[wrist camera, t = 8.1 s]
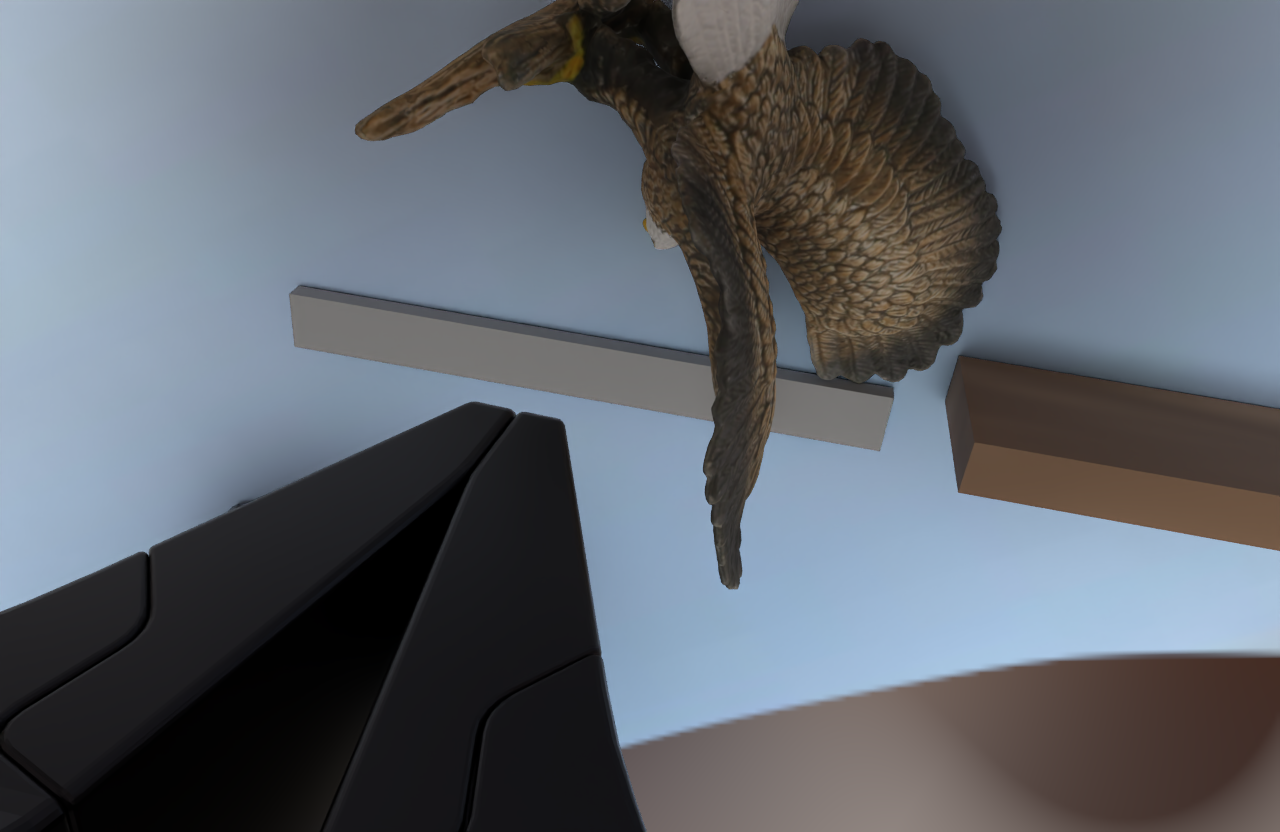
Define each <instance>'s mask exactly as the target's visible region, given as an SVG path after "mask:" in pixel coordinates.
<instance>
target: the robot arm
mask: <svg viewBox="0 0 1280 832" xmlns="http://www.w3.org/2000/svg"><path fill="white" fill-rule="evenodd" d="M0 832H647V831H646V828H645V826H644V822H643V820H642V817H641V814H640V811H639V808H638V805H637V803H636V799H635V795H634V792H633V789H632V785H631V782H630V779H629V775H628V772H627V769H626V765H625V762H624V759H623V755H622V752H621V749H620V745H619V741H618V736H617V731H616V726H615V722H614V717H613V712H612V707H611V703H610V698H609V693H608V687H607V681H606V675H605V669H604V663H603V659H602V658H601V647H600V641H599V635H598V629H597V623H596V616H595V610H594V604H593V598H592V591H591V585H590V579H589V573H588V567H587V560H586V554H585V548H584V542H583V536H582V529H581V523H580V517H579V511H578V504H577V498H576V492H575V486H574V480H573V473H572V467H571V461H570V455H569V449H568V442H567V436H566V430H565V425H564V423H563V422H562V421H561V420H560V419H557V418H553V417H548V416H543V415H538V414H533V413H528V412H521V413H519V414H517V415H516V414H515V412H514V411H513V410H511V409H508V408H504V407H499V406H494V405H490V404H485V403H480V402H469V403H466V404H464V405H462V406H460V407H457V408H455V409H453V410H451V411H449V412H446V413H444V414H442V415H440V416H438V417H435V418H433V419H431V420H429V421H427V422H424V423H422V424H420V425H418V426H416V427H413V428H411V429H409V430H407V431H405V432H402V433H400V434H398V435H396V436H394V437H392V438H389V439H387V440H385V441H383V442H381V443H378V444H376V445H374V446H372V447H370V448H367V449H365V450H363V451H361V452H359V453H356V454H354V455H352V456H350V457H348V458H345V459H343V460H341V461H339V462H337V463H334V464H332V465H330V466H328V467H326V468H323V469H321V470H319V471H317V472H315V473H312V474H310V475H308V476H306V477H304V478H301V479H299V480H297V481H295V482H293V483H290V484H288V485H286V486H284V487H282V488H279V489H277V490H275V491H273V492H271V493H268V494H266V495H264V496H262V497H260V498H257V499H255V500H253V501H251V502H249V503H246V504H244V505H241V504H238V505H236V506H233V507H232V508H231V509H230V510H229V511H228V512H227V513H225V514H222V515H220V516H218V517H216V518H214V519H211V520H209V521H207V522H205V523H203V524H200V525H198V526H196V527H194V528H191V529H189V530H187V531H185V532H183V533H180V534H178V535H176V536H174V537H172V538H169V539H167V540H165V541H163V542H161V543H158V544H156V545H154V546H152V547H151V548H150V549H149V557H148V554H147V553H145V552H138V553H136V554H134V555H131V556H129V557H127V558H125V559H123V560H120V561H118V562H116V563H114V564H112V565H109V566H107V567H105V568H103V569H101V570H98V571H96V572H94V573H92V574H89V575H87V576H85V577H82V578H80V579H78V580H75V581H73V582H71V583H68V584H66V585H64V586H61V587H59V588H57V589H55V590H52V591H50V592H48V593H45V594H43V595H41V596H38V597H36V598H34V599H31V600H29V601H27V602H24V603H22V604H19V605H17V606H14V607H11V608H9V609H6V610H4V611H1V612H0Z"/></svg>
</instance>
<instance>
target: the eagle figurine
mask: <svg viewBox="0 0 1280 832" xmlns="http://www.w3.org/2000/svg"><path fill="white" fill-rule="evenodd" d="M798 3H799V0H673V3H672V9H670V8H668V7H667V6H666V5H665V4H664V3H663V2H662V1H661V0H656V1H654V0H556V1H555V2H553V3H551V4H550V5H548V6H546V7H545V8H543V9H541V10H539V11H538V12H536V13H534V14H532V15H530V16H528V17H526V18H523V19H521V20H519V21H516V22H514V23H513V24H511V25H509V26H507V27H505V28H503V29H501V30H500V31H498V32H496V33H494V34H492V35H491V36H489V37H488V38H486V39H484V40H483V41H481V42H480V43H478V44H476V45H475V46H474V47H472V48H471V49H470V50H468V51H467V52H466V53H464V54H462V55H461V56H459V57H457V58H456V59H455V60H453V61H452V62H451V63H449V64H448V65H447V66H445V67H444V68H443V69H441V70H440V71H438V72H437V73H436V74H434V75H433V76H431V77H430V78H428V79H427V80H425V81H424V82H422V83H421V84H419V85H418V86H416V87H414V88H413V89H411V90H409V91H408V92H406V93H404V94H402V95H400V96H398V97H397V98H395V99H393V100H391V101H390V102H388V103H386V104H385V105H383V106H381V107H380V108H378V109H377V110H375V111H374V112H373V113H371V114H370V115H368V116H367V117H365V118H364V119H362V120H361V121H360V122H359V123H357V124H356V126H355V134H356V135H358V136H359V137H360V138H361V139H364V140H368V141H380V140H386V139H389V138H392V137H395V136H400V135H404V134H408V133H412V132H415V131H417V130H419V129H421V128H423V127H425V126H426V125H428V124H430V123H432V122H433V121H435V120H436V119H438V118H440V117H442V116H443V115H445V114H446V113H447V112H449V111H451V110H453V109H457V108H460V107H462V106H465V105H468V104H471V103H473V102H474V101H475V100H476V99H477V98H478V97H479V96H480V95H481V94H483V93H484V92H486V91H487V90H489V89H491V88H494V87H497V86H500V87H501V88H503V89H504V90H505V91H510V90H514V89H517V88H519V87H521V86H522V85H528V86H532V85H551V84H554V83H557V82H568V83H570V84H572V85H574V86H575V87H576V88H577V89H578V91H579V92H580V93H581V94H583V95H584V96H585V97H586V98H587V99H588V100H589V101H593V102H598V103H601V104H605V105H608V106H610V107H612V108H613V109H615V110H616V111H618V113H619V114H620V116H621V118H622V120H623V121H624V122H625V123H626V124H627V125H628V126H629V127H630V129H631V130H632V132H633V133H634V135H635V137H636V139H637V141H638V142H639V144H640V145H641V147H642V149H643V151H644V154H645V156H646V161H645V163H644V166H643V172H642V183H641V191H642V195H643V199H644V201H645V206H646V218H645V219H644V220H643V226H644V228H645V230H646V231H647V232H648V233H649V235H650V237H651V239H652V241H653V244H654V247H655V248H656V249H660V250H664V249H669V248H673V247H675V246H677V245H679V246H680V248H681V249H682V252H683V254H684V257H685V259H686V261H687V264H688V266H689V269H690V271H691V274H692V276H693V279H694V281H695V284H696V287H697V291H698V295H699V298H700V301H701V304H702V308H703V312H704V317H705V321H706V325H707V332H708V343H709V357H710V362H711V373H712V382H713V389H714V392H715V396H716V398H715V401H714V403H713V405H712V407H711V413H712V417H713V420H714V424H715V428H714V433H713V436H712V438H711V440H710V442H709V445H708V447H707V451H706V455H705V459H704V464H703V472H704V474H705V475H706V477H707V481H706V486H705V496H706V500H707V502H708V503H709V504H710V505H712V510H711V523H712V524H713V533H714V542H715V548H716V554H717V561H718V569H719V575H720V579H721V583H722V584H723V585H726V587H727V588H728V589H738V587H739V584H740V577H741V576H742V563H741V557H740V551H739V548H740V544H741V530H740V522H741V518H742V513H743V509H744V505H745V500H746V499H747V498H748V496H749V495H750V494H751V492H752V490H753V488H754V485H755V483H756V480H757V477H758V475H759V470H760V466H761V462H762V458H763V452H764V446H765V444H766V441H767V439H768V437H769V434H770V430H771V426H772V422H773V417H774V412H775V404H776V374H777V367H776V357H777V343H776V340H775V331H776V324H775V321H774V317H773V306H772V302H771V300H770V296H769V282H768V279H767V276H766V267H767V265H766V262H765V259H764V256H763V253H762V250H761V245H762V246H763V247H764V248H765V249H766V251H767V252H768V253H769V254H770V255H771V256H772V257H773V258H774V259H775V260H776V261H777V263H778V264H779V265H780V267H781V269H782V271H783V273H784V275H785V276H786V278H787V280H788V282H789V283H790V285H791V288H792V290H793V292H794V294H795V297H796V298H797V300H798V301H799V303H800V305H801V307H802V309H803V311H804V313H805V316H806V328H807V339H808V343H809V345H810V353H811V360H812V363H813V365H814V367H815V369H816V372H817V375H818V376H819V377H820V378H821V379H824V380H832V379H835V378H836V377H838V376H843V377H845V378H847V379H850V380H851V381H852V382H855V383H858V384H860V383H863V382H865V381H866V380H868V379H869V378H870V377H872V376H873V375H874V374H877V375H879V376H880V377H881V378H882V379H883V380H887V381H890V382H898V381H900V380H901V379H903V378H904V376H905V375H906V373H907V371H908V369H914V370H917V371H922V370H926V369H928V368H929V367H930V366H931V365H932V364H933V363H934V362H935V358H936V355H937V352H938V349H939V348H940V346H941V345H947V346H948V345H952V344H954V343H955V342H957V341H958V339H959V337H960V335H961V333H962V329H963V314H962V309H964V308H972V307H976V306H977V305H978V304H979V303H980V302H981V301H982V298H983V293H982V286H981V285H982V283H983V282H984V281H987V280H989V279H990V278H991V277H992V275H993V274H994V273H995V271H996V270H997V265H996V260H997V257H998V254H999V243H998V241H997V240H996V239H997V237H998V235H999V234H1000V233H1001V230H1002V226H1001V224H1000V222H1001V221H1000V220H999V219H998V217H997V216H996V214H995V212H996V211H997V208H998V205H997V201H996V198H995V197H994V195H993V194H989V193H987V192H986V191H985V189H986V185H985V182H984V180H983V178H982V177H981V175H980V171H979V168H978V166H977V165H976V164H975V163H974V162H972V161H970V160H965V159H964V156H965V148H964V146H963V145H962V143H961V142H960V141H959V140H958V138H957V136H956V132H955V129H954V126H952V124H951V123H950V122H949V121H948V120H946V119H945V118H942V117H941V113H940V112H941V102H940V98H939V97H938V96H937V95H936V94H935V93H934V92H933V90H932V85H931V82H930V80H929V78H928V77H927V76H926V75H924V74H922V73H920V72H919V71H918V70H917V68H916V66H915V65H914V64H913V63H912V62H910V61H909V60H907V59H904V58H900V57H898V56H897V55H895V54H894V52H893V51H892V49H891V47H890V46H889V45H888V44H887V43H885V42H882V41H878V42H876V43H874V44H873V43H871V42H870V41H868V40H866V39H863V38H859V39H857V40H856V41H855V42H854V43H853V44H852V45H851V47H849V48H847V49H846V48H843V47H841V46H838V45H828V46H826V47H825V48H823V49H822V51H821V52H820V54H819V55H817V54H816V53H815V52H814V51H813V50H812V49H811V48H809V47H807V46H799V47H795V48H793V49H791V50H787V49H786V44H785V35H786V31H787V28H788V25H789V22H790V19H791V17H792V14H793V13H794V11H795V9H796V7H797V5H798ZM636 44H640V45H643V46H644V47H645V48H646V49H645V48H643V47H641V46H638V45H636ZM653 59H654V60H655V61H656V63H657V64H658V65H659V66H660V68H659V67H657V66H656V65H655V62H654V60H653ZM760 244H761V245H760Z"/></svg>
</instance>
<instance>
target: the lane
mask: <svg viewBox="0 0 1280 832" xmlns="http://www.w3.org/2000/svg"><path fill="white" fill-rule="evenodd" d="M289 296H290V306H291V316H292V326H293V336H294V346H295V347H299V348H305V349H311V350H316V351H322V352H327V353H333V354H339V355H344V356H350V357H355V358H361V359H367V360H372V361H378V362H383V363H389V364H395V365H400V366H406V367H411V368H417V369H423V370H428V371H434V372H439V373H445V374H450V375H456V376H462V377H467V378H473V379H478V380H484V381H490V382H495V383H501V384H506V385H512V386H518V387H523V388H529V389H534V390H540V391H546V392H551V393H557V394H562V395H568V396H574V397H579V398H585V399H590V400H596V401H602V402H607V403H613V404H618V405H624V406H630V407H635V408H641V409H646V410H652V411H658V412H663V413H669V414H674V415H680V416H685V417H691V418H697V419H702V420H708V421H713V422H714V420H713V417H712V413H711V407H712V405H713V403H714V401H715V398H716V396H715V392H714V389H713V382H712V373H711V362H710V357H709V356H704V355H699V354H693V353H687V352H681V351H675V350H669V349H664V348H658V347H652V346H646V345H640V344H635V343H629V342H623V341H617V340H611V339H605V338H600V337H594V336H588V335H582V334H576V333H571V332H565V331H559V330H553V329H547V328H541V327H536V326H530V325H524V324H518V323H512V322H507V321H501V320H495V319H489V318H483V317H477V316H472V315H466V314H460V313H454V312H448V311H443V310H437V309H431V308H425V307H419V306H413V305H408V304H402V303H396V302H390V301H384V300H379V299H373V298H367V297H361V296H355V295H349V294H344V293H338V292H332V291H326V290H320V289H315V288H309V287H303V286H298V287H297V288H295V289H294V290H293V291H292V292H291V293H290V294H289ZM893 400H894V392H893V388H891V387H885V386H879V385H873V384H867V383H860V384H858V383H855V382H852V381H850V380H844V379H838V378H835V379H832V380H824V379H821V378H820V377H819V376H818V375H815V374H809V373H803V372H797V371H792V370H786V369H780V368H777V374H776V404H775V412H774V417H773V422H772V426H771V430H770V432H775V433H781V434H786V435H792V436H797V437H803V438H809V439H814V440H820V441H825V442H831V443H837V444H842V445H848V446H853V447H859V448H865V449H870V450H876V451H880V448H881V445H882V441H883V437H884V433H885V430H886V426H887V422H888V419H889V415H890V411H891V407H892V404H893Z"/></svg>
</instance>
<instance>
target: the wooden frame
mask: <svg viewBox="0 0 1280 832" xmlns="http://www.w3.org/2000/svg"><path fill="white" fill-rule="evenodd" d="M945 405H946V412H947V419H948V426H949V432H950V439H951V446H952V453H953V460H954V467H955V474H956V481H957V488H958V493H964V494H969V495H975V496H980V497H986V498H991V499H997V500H1002V501H1008V502H1013V503H1019V504H1024V505H1030V506H1035V507H1041V508H1046V509H1052V510H1057V511H1063V512H1068V513H1074V514H1079V515H1085V516H1090V517H1096V518H1101V519H1107V520H1112V521H1118V522H1123V523H1129V524H1134V525H1140V526H1145V527H1151V528H1156V529H1162V530H1167V531H1173V532H1178V533H1184V534H1190V535H1195V536H1201V537H1206V538H1212V539H1217V540H1223V541H1228V542H1234V543H1239V544H1245V545H1250V546H1256V547H1261V548H1267V549H1272V550H1278V551H1280V409H1275V408H1269V407H1263V406H1257V405H1251V404H1245V403H1239V402H1233V401H1227V400H1221V399H1215V398H1209V397H1203V396H1197V395H1191V394H1185V393H1180V392H1174V391H1168V390H1162V389H1156V388H1150V387H1144V386H1138V385H1132V384H1126V383H1120V382H1114V381H1108V380H1102V379H1096V378H1090V377H1084V376H1078V375H1072V374H1066V373H1060V372H1054V371H1048V370H1042V369H1036V368H1030V367H1024V366H1018V365H1012V364H1006V363H1000V362H994V361H988V360H982V359H976V358H970V357H964V356H959V357H958V360H957V363H956V367H955V370H954V373H953V377H952V380H951V383H950V387H949V390H948V393H947V397H946V400H945Z"/></svg>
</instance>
